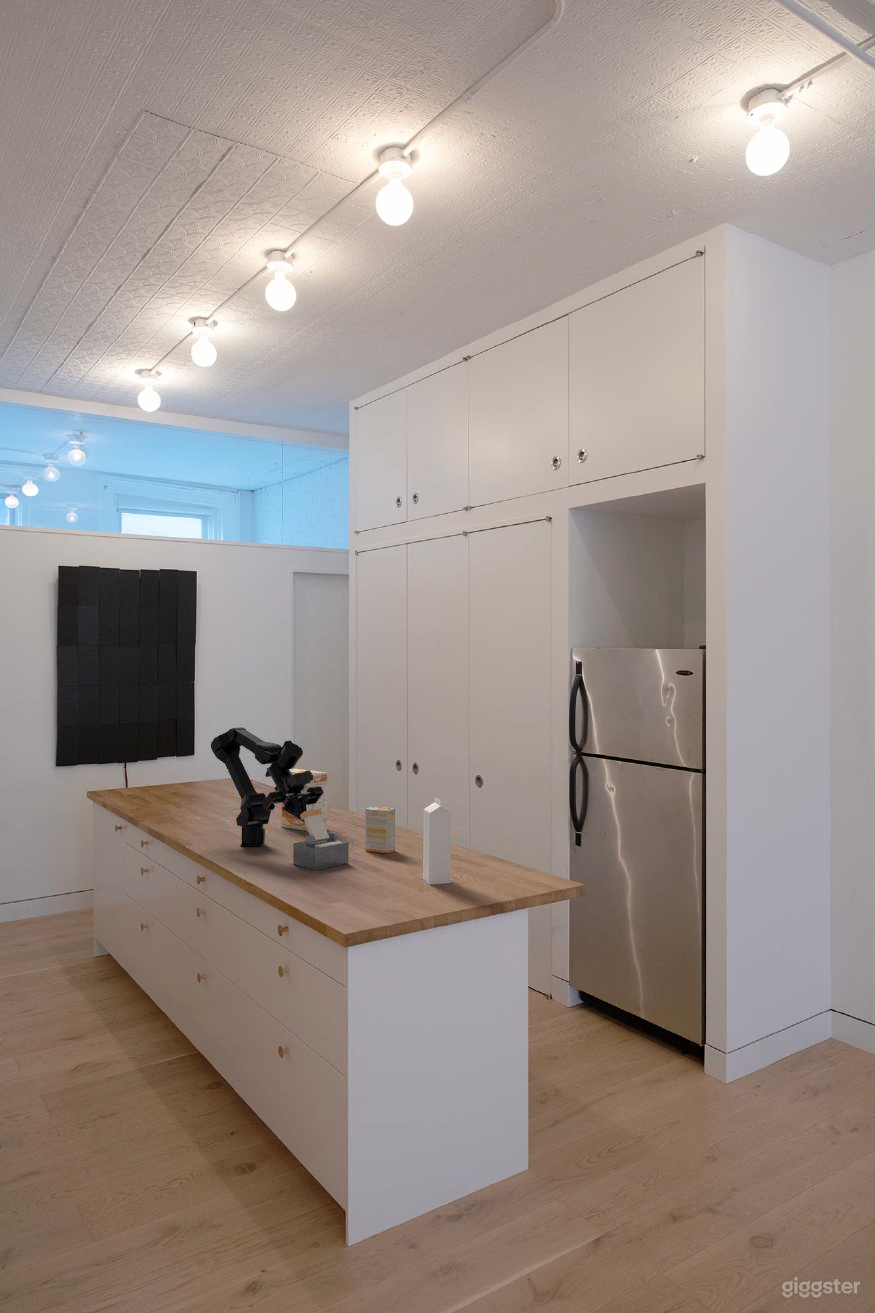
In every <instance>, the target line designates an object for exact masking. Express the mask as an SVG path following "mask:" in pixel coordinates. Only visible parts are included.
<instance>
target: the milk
mask: <svg viewBox="0 0 875 1313" xmlns="http://www.w3.org/2000/svg"><path fill="white" fill-rule="evenodd" d="M433 801H434V802H433V803H431V804H430V805H428V806H426V807H425V808H423V841H422V842H423V844H422V845H423V848H422V849H423V850H422V851H423V852H422V854H423V856H422V859H423V861H422V862H423V863H422V864H423V865H422V880H424V881H425V882H426V883H427V885H430V886H431V885H433V886H434V885H443V884H446V885H447V884H451V882H452V881H451V880H452V879H451V874H452V873H451V871H452V868H451V867H452V863H451V862H452V811H451V810H449V809H447V808H445V807H444V806H442V800H441V799H439V798H437V797H436V796H435V797H434V800H433Z"/></svg>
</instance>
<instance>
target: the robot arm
mask: <svg viewBox="0 0 875 1313" xmlns="http://www.w3.org/2000/svg"><path fill="white" fill-rule="evenodd" d="M241 747H243V748H244V749H246V750H248V751H249V752H251V753H252V754H254V758H255V759H256V761H257V762H258V763H259V764H260V765H263V766H264V765H269V767H267V768H266V771H265V777H266V778H269V777H271V779H272V781H273V783H274V785H275V787H274V791H270V792H269V793H268V795H267V796H266V794H265V793H264V792H257V791H256V788H255V786H254V784H253V783H252V781H251V778H250V776H249V774H248V772H247V770H246V768H245V766H244V763H243V762H242V760H241V757H240V753H241ZM210 750H211V752H212V753H213V754H214V756H215V757H216V759H217V760H219V761H220V762H222V763H223V764H224V765H225V766H226V770H227V772H228V773H229V776H230V779H231V780H232V782H233V784H234V786H235V788H236V791H237V792H238V795H239V798H240V799H241V803H240V806H239V807H240V808H239V809H240V813H238V815H237V817H236V819H235V822H236V825H237V827H241V843H240V847H262V846H263V845H264V843H265V842H266V828H264V825H268V824H269V822H270V817H271V813H272V811H274V810H275V808H276V805H275V804H282V803H283V805H284V807H283V808H282V807H281V811H282V810H283V811H287V812H288V813H290V814H292V815H294V816H295V817H297V818H298V819H300V820H301V817H300V815H301V814H302V813H303V812H304V811H307V810H306V805H311V804H315V803H317V801H318V800H319V799H320V797H321V796H322V794H323V793H324V791H323V790H322V788H321V787H320V786H315V787H309V788H308V790H307V791H306V792H303V793H301V790H303V789H304V788H305V787H304V785H306V784H307V783H310V781H312V780H313V775H312V773H311V771H312V770H311V769H310V770H309V769H306V770H307V771H305V772H303V773H296V774H294V775H292V774H291V772H290V770H289V769H295V767H296V765H297V764H298V763H299V761H300V759H301V758H302V756H303V754H304V752H303V748H302V747H301V746H299V745H298V744H296V743H294V742H292V740H285V741H284V743H283V745H282V746H281V745H280V744H278V743H276V742H269V741H264V740H263V739H261V738H260V737H258V736H256V735H255V734H253V733H251V732H249V731H248V730H247V729H246V727H232V728H230V729H228V731H226V732H224V733H222V734H219V735H217V736H215V737H214V738H213V740H212V741H211V743H210ZM301 821H303V822H305V821H304V819H303V820H301Z"/></svg>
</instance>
